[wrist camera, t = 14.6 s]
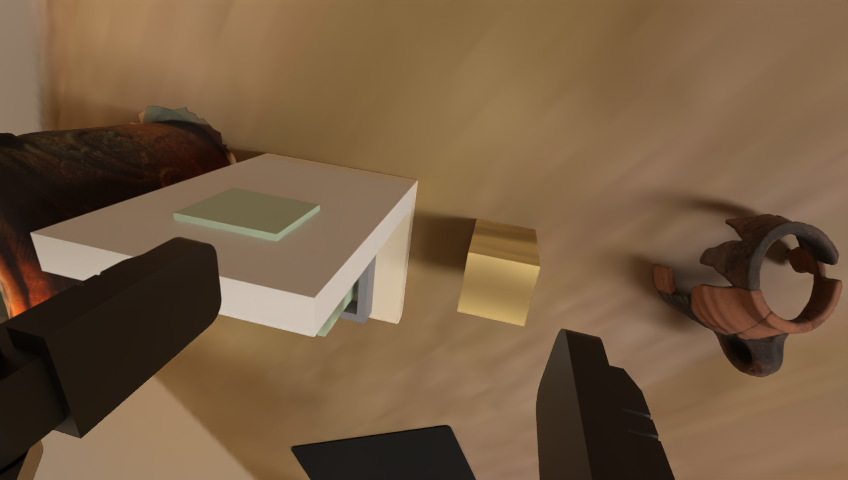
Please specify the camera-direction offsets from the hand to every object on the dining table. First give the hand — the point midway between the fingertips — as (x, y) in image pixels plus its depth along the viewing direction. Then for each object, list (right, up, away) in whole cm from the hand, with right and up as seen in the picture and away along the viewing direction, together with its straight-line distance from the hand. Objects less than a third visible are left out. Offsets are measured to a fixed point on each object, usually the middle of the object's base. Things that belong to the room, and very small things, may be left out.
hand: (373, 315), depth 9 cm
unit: (-7, +2, +29) cm, 30 cm away
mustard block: (+8, +1, +26) cm, 27 cm away
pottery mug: (+25, -1, +23) cm, 34 cm away
